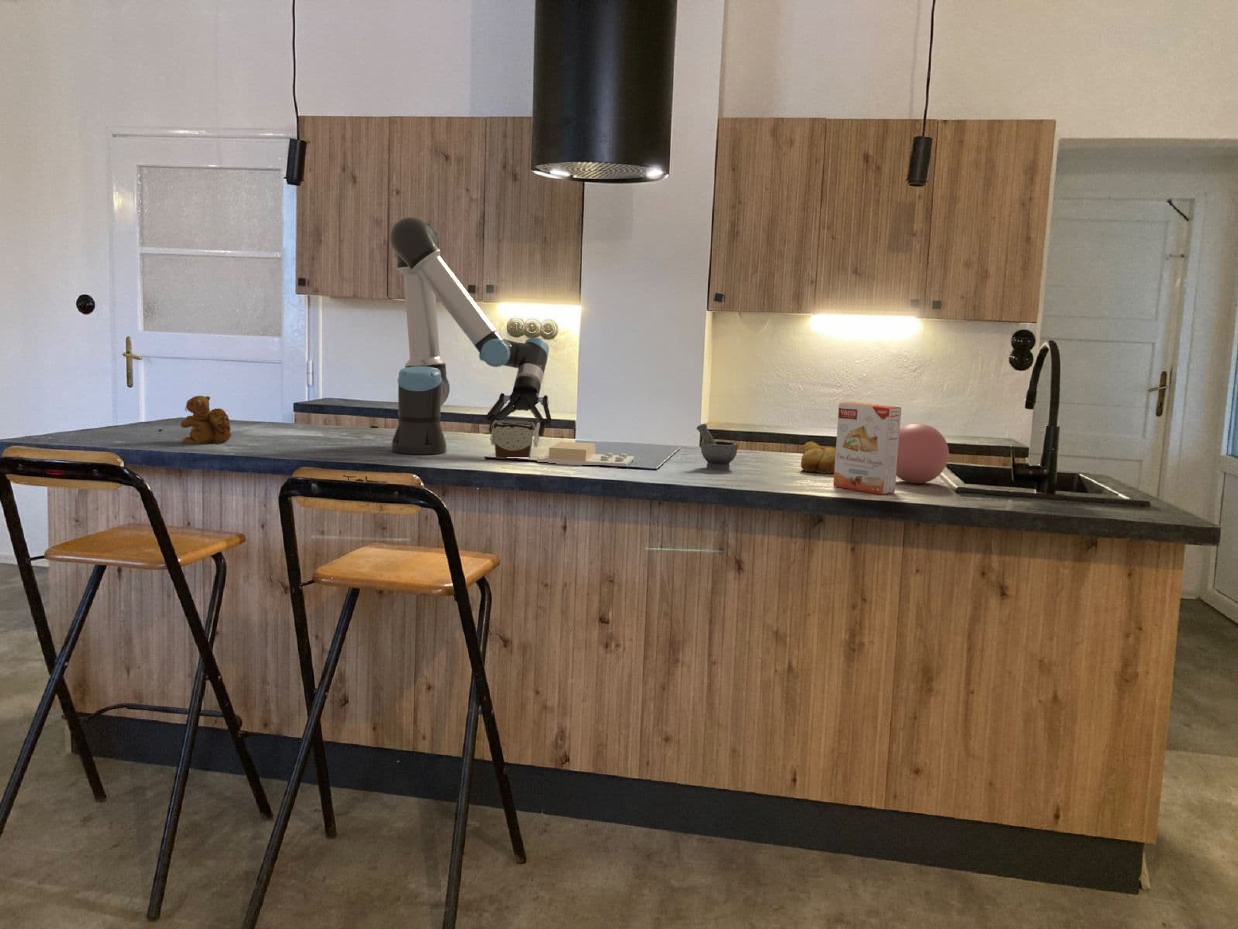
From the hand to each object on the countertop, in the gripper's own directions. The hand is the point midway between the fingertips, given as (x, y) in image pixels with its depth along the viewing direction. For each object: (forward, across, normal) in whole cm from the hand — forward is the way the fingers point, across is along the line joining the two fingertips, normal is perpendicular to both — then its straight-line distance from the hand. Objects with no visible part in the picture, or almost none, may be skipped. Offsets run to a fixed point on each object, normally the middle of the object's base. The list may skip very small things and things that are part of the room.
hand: (513, 443), depth 277 cm
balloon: (+3, -106, -4) cm, 106 cm away
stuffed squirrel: (+5, +88, -1) cm, 88 cm away
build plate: (+1, -20, -5) cm, 21 cm away
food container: (+1, 0, -5) cm, 5 cm away
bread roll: (-3, -84, -10) cm, 84 cm away
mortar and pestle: (0, -55, -7) cm, 55 cm away
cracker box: (+17, -92, +10) cm, 94 cm away
